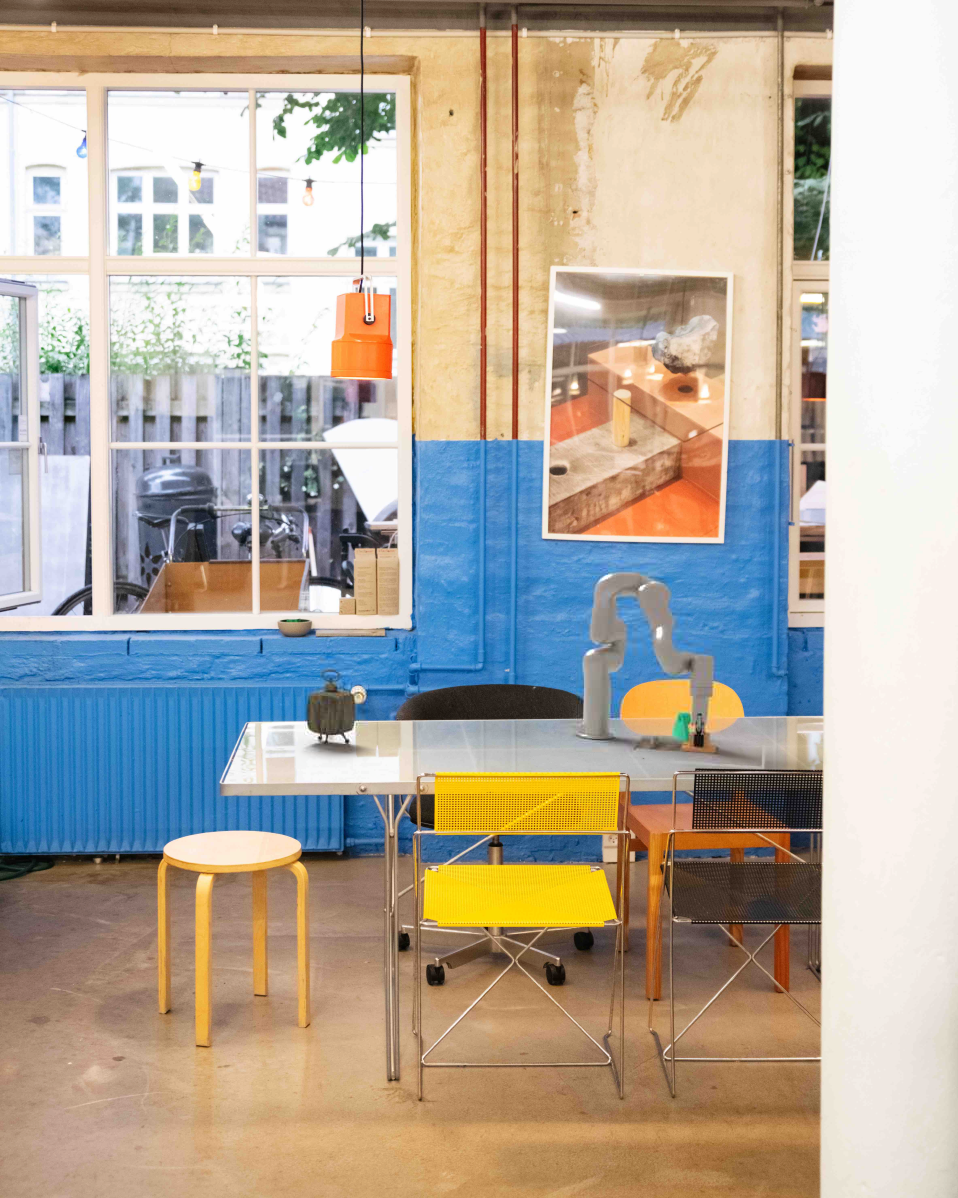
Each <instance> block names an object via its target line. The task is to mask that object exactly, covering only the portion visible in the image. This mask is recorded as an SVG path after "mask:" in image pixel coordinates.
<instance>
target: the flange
mask: <svg viewBox="0 0 958 1198" xmlns="http://www.w3.org/2000/svg"><path fill="white" fill-rule="evenodd" d="M689 731H690V734H689V741H684V740H683V743H682V747H681V751H680V752H684V751H690V752H689V753H697V752H704V753H703V754H711V753H715V751H716V747H717V743H710V740H711V739H710V738H711V735H710V734H711V732H706V731H705V732H703V735H704V746H703V747H696V746H694V734H695V732H692V731H693V730H689Z"/></svg>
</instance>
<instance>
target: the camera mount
mask: <svg viewBox="0 0 958 1198" xmlns="http://www.w3.org/2000/svg"><path fill="white" fill-rule="evenodd" d="M691 716H692V714H691V712H689V711H688V712H687V711H686V712H684V711H683V712H681V711H680V712H678V713H677V717H676V719H675V723H674V726H673V728H672V729H673V730H672V736H673V737H676V738H678V739H680V740H682V741H683V742H684V741H685V742H689V734H690V731H692V732H695V730H690V729H689V725H691Z"/></svg>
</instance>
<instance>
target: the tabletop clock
mask: <svg viewBox="0 0 958 1198" xmlns="http://www.w3.org/2000/svg"><path fill="white" fill-rule="evenodd" d="M326 672H332V673H335V674H337V676H338V678H337V679H333V678H332V677H329V679H327V678H326V677H324V674H325V673H326ZM321 677H322V679H323V680H324V681H325V682H327V683H325V684H324V686H323V688H322V690H317V691H314V692H310V693H309V695H308V698H307V702H306V703H307V704H306V725H307V728H308V730H309V731H311V732H312V733H314V734H319V736H317V740H318V741H322V740H323V735H324V736H325V740H323V744H324V745H329V740H328V739H329V736H338V735H340V736H341V737H342V738H343V739H344V744H346V745H349V744H350V739H349V738H347V737H346V735H345V733H349V732H351V731H353V730H354V728H355V727H354V726H355V721H356V702H355V701H356V699H355V696H354V694H353V693H352V692H351V691H349V690H345V689H344V690H343V689H339V686H338V684H336V683H337V682H338V681H340V678H341V675H340V673H339V671H337V670H335V669H330V668H329V669H325V670H324V671H323V672H322V673H321Z"/></svg>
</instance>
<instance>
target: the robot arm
mask: <svg viewBox="0 0 958 1198" xmlns="http://www.w3.org/2000/svg"><path fill="white" fill-rule="evenodd" d="M622 597H633V598H636V600H637V602H638V604H639V607H640V608H641V611H642V612H643V615H644V617H645V619H646V621H647V624H648V625H649V627H650V630H651V632H652V634H651V635H652V646H653V652H654V654H655V656H656V658H657V661H658V662H659V663H658V664H659V665H660V666H661V668H662V670H663V671H664V672H665V673H666V674H667V675H668V676H673V677H675V676H677V677H678V676H683V675H688V674H690V677H689V678H690V680H689V683H690V684H689V696H690V697H692V701H691V723H690V725H691V727H693V726H694V731H695V734H694V746H696V747H703V746H704V735H703V732H706V730H705V727H706V725H707V723H708V722H707V721H708V716H709V704H710V703H709V701H710V699H709V698H713V693H714V692H713V690H714V667H715V666H714V665H715V663H714V662H715V661H714V660H715V659H714V657H713V656H712V655H709V654H696V653H693V652H688V651H682V652H681V651H680V652H678V651H677V649H676V647H675V645H674V643H673V639H672V632H673V628H674V626H675V624H676V620H675V618H674V616H673V613H672V611H671V609H670V608H669V606H668V604H669V602H670V601H671V598H672V594H671V591H670V589H669V587H668V586H667V585H666V584H665V583H662V582H661V581H658V580H656V579H653V578H650V577H648V576H646V575H643V574H641V573H639V572H638V573H637V572H633V571H629V572H628V571H627V572H624V571H623V572H620V571H619V572H613V573H609V574H606V575H604V576H603V577H601V578H600V579H599V580H598V582H596V585H595V588H594V593H593V605H592V612H591V618H590V619H591V621H590V626H589V627H590V628H589V637H590V639H591V641H592V642H593V643H594V644H596V645H598V646H599V645H600V646H601V647H595V648H592V649H590V650H588V651H587V652H585V654H584V656H583V658H582V672H583V685H584V686H583V710H582V711H583V718H582V722H580V723H570V729H571V730H578V737H581V738H584V739H588V740H589V739H590V740H608V739H613V738H614V737H615V735H614V732H612V731H610V730H611V729H610V727H611V726H610V725H611V723H610V722H611V700H612V699H611V694H612V686H611V685H612V683H611V680H610V675H609V674H612V673H616V672H617V671H619V670H620V669H621V668H622V666H623V665H624V661H625V653H626V645H627V638H628V629H627V626H626V624H625V622H624V621H623V620H622V618H620V617H618V616H617V611H618V603H617V599H618V598H622Z"/></svg>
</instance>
